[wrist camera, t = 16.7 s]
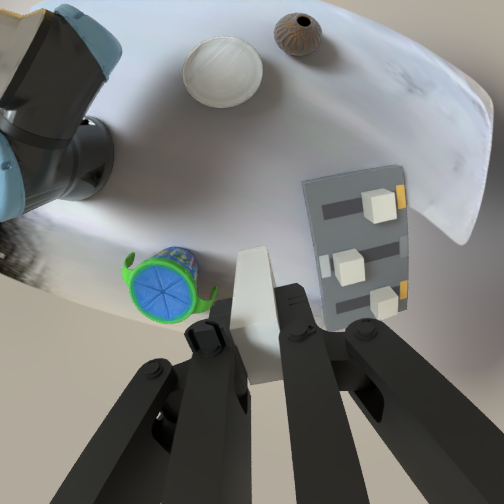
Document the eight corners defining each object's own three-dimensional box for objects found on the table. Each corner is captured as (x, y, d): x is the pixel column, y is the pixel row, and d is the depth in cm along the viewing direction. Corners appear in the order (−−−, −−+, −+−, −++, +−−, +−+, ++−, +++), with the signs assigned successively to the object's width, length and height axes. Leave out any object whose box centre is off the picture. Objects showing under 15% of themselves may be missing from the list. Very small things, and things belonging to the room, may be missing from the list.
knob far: (370, 309, 49) (378, 321, 45) (369, 291, 47) (378, 302, 44) (389, 303, 48) (397, 314, 45) (389, 285, 47) (398, 296, 43)
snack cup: (129, 268, 48) (106, 296, 39) (149, 219, 45) (125, 239, 36) (204, 307, 51) (195, 342, 42) (230, 262, 48) (225, 291, 38)
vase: (263, 38, 34) (266, 15, 26) (296, 18, 32) (305, -6, 24) (292, 67, 36) (301, 51, 28) (324, 47, 34) (340, 28, 26)
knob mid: (335, 275, 46) (341, 286, 42) (332, 253, 45) (339, 263, 41) (357, 269, 46) (365, 280, 42) (355, 248, 44) (363, 257, 41)
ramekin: (197, 44, 34) (191, 32, 29) (268, 52, 35) (270, 41, 30) (183, 107, 38) (174, 102, 34) (254, 117, 39) (254, 113, 34)
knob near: (364, 216, 42) (374, 223, 39) (361, 192, 41) (371, 197, 37) (385, 212, 42) (396, 218, 38) (383, 188, 40) (394, 192, 37)
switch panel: (325, 325, 53) (328, 332, 51) (301, 181, 43) (304, 184, 41) (401, 303, 52) (407, 309, 49) (395, 164, 41) (402, 166, 39)
